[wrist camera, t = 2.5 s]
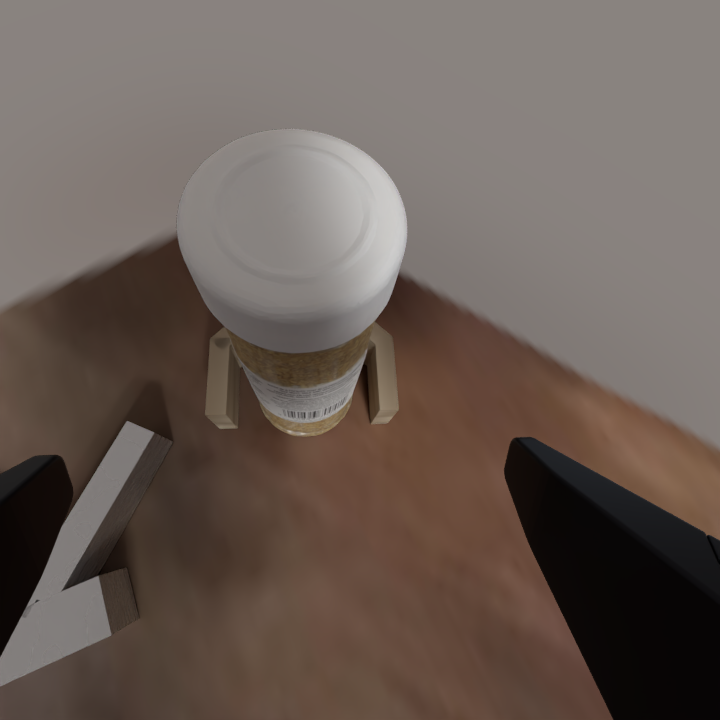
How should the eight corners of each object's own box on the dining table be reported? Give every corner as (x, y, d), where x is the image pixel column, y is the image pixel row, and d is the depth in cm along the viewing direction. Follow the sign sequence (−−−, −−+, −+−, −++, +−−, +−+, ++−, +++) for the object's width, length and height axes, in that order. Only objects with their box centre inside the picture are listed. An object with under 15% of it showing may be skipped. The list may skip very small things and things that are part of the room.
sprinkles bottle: (353, 351, 22) (413, 131, 9) (349, 442, 20) (414, 326, 8) (262, 345, 21) (192, 104, 9) (251, 436, 20) (145, 305, 7)
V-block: (214, 583, 18) (199, 594, 15) (-63, 709, 15) (-130, 745, 13) (168, 424, 20) (148, 413, 17) (-84, 516, 17) (-146, 517, 15)
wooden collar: (387, 423, 21) (399, 409, 18) (219, 428, 20) (204, 415, 17) (379, 318, 22) (389, 290, 20) (225, 318, 22) (212, 289, 19)
